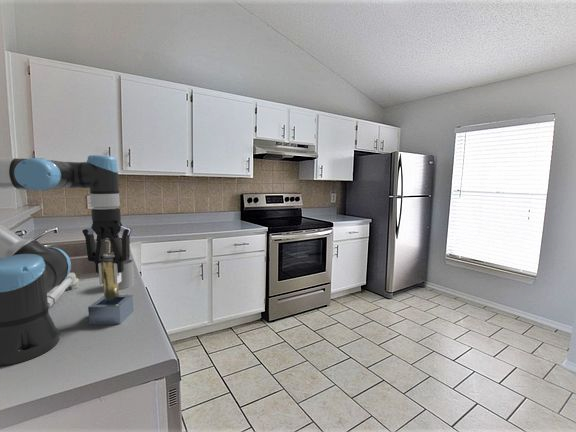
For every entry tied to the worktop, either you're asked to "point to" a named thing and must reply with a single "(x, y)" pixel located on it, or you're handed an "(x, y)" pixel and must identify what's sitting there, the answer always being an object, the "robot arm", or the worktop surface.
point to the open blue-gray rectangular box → (110, 310)
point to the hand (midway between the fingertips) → (110, 282)
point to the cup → (127, 275)
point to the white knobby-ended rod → (62, 288)
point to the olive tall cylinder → (109, 278)
